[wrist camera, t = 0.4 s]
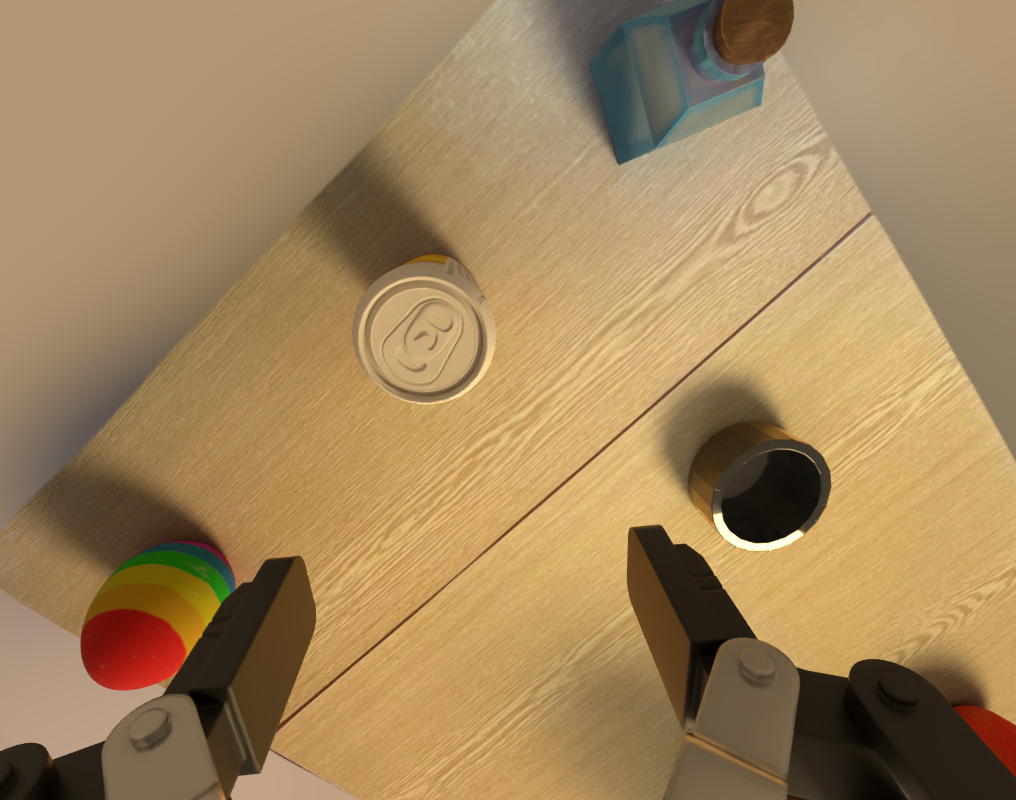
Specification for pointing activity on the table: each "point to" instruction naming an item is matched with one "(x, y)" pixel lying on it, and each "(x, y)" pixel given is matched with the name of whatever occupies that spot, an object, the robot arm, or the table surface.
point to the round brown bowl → (759, 485)
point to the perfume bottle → (686, 68)
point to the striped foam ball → (153, 613)
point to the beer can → (425, 331)
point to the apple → (992, 732)
